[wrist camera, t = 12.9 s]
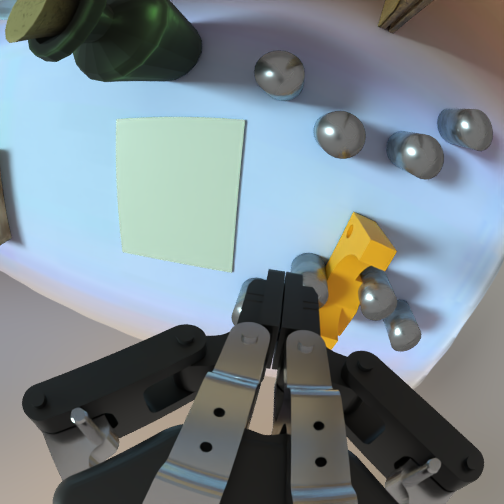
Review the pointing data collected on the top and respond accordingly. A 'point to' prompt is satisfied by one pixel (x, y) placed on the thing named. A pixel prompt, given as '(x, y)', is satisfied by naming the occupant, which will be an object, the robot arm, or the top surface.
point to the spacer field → (400, 154)
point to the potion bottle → (109, 37)
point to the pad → (179, 188)
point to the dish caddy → (3, 218)
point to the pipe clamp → (351, 273)
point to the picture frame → (400, 12)
